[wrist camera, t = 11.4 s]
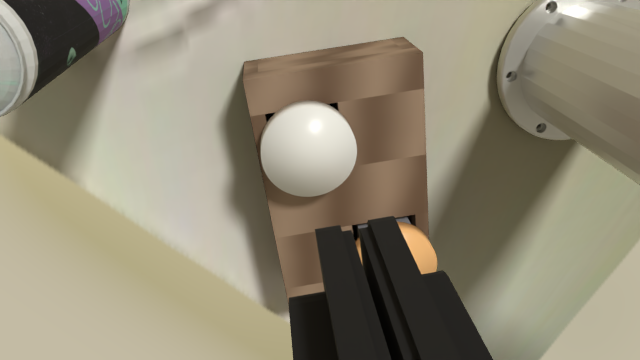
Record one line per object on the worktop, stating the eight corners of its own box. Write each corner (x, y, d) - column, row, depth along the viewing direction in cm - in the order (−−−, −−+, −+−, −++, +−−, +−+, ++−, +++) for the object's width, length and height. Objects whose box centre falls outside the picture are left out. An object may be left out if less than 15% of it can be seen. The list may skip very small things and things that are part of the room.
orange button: (411, 183, 42) (436, 226, 36) (414, 246, 45) (438, 295, 39) (335, 196, 42) (348, 241, 36) (343, 258, 45) (357, 309, 39)
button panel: (403, 36, 38) (422, 52, 33) (414, 252, 47) (430, 287, 43) (244, 61, 37) (242, 80, 33) (286, 275, 47) (290, 312, 42)
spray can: (141, 29, 35) (25, 136, 18) (63, 43, 35) (-131, 166, 18) (113, -56, 33) (-54, -29, 15) (30, -41, 33) (-236, 4, 15)
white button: (337, 73, 38) (352, 101, 32) (345, 149, 41) (361, 188, 35) (253, 86, 38) (252, 117, 32) (267, 162, 41) (269, 203, 35)
